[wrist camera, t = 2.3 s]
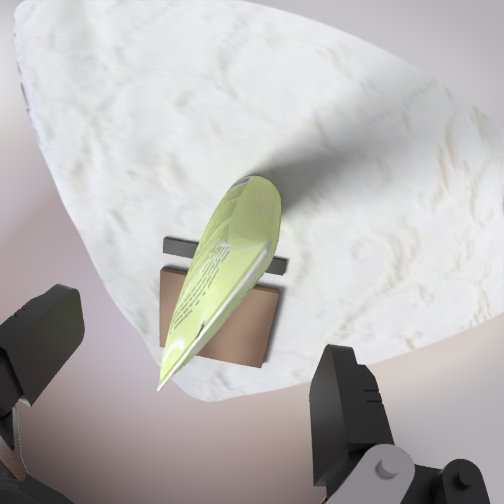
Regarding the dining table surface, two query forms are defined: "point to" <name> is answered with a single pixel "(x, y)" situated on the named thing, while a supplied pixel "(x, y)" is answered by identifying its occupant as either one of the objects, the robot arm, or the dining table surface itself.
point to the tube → (223, 268)
